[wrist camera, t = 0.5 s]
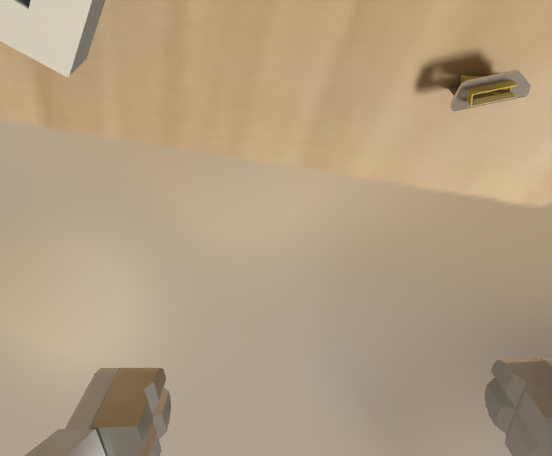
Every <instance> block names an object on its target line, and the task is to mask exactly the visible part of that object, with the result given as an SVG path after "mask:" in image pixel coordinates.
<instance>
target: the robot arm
mask: <svg viewBox="0 0 552 456" xmlns="http://www.w3.org/2000/svg"><path fill="white" fill-rule="evenodd" d="M491 371H492V373H493V375H494V376H495V378H494V379H493V380H492V381H491V382H489V383H488V384H487V387H486V391H485V401H486V407H487V410H488V413H489V416H490V417H491V419H492V421H493V423H494V425H495V426H497V427H498V428H499V429H501V430H502V431H504V432H505V433H506V440H505V444H506V446H507V447H508V449H509V451H510V453H511V454H512V456H552V358H540V359H537V358H534V359H533V358H532V359H504V360H497V361H496V362H495V363H494V365H493V368H492V370H491ZM165 380H166V377H165V373H164V369H161V368H101V369H100V370H98V371H97V372H96V373H95V374H94V377H93V378H92V380H91V382H90V384H89V385H88V387H87V389H86V391H85V393H84V395H83V396H82V398H81V400H80V402H79V404H78V406H77V407H76V409H75V411H74V413H73V415H72V417H71V418H70V420H69V422H68V424H67V426H66V428H65V429H59V430H57V431H56V432H54V433H53V434H52V435H51V436H49V437H48V438H47V439H46V440H44V441H43V442H42V443H40V444H39V445H38V446H37V447H35V448H34V449H33V450H31V451H30V452H29V453H28V454H26V455H25V456H160V453H161V447H160V443H159V439H160V438H161V437H162V436H163V435H164V433H166V432H167V428H168V424H169V420H170V410H171V401H170V394H169V391H168V390H167V389H165V388H164V383H165Z"/></svg>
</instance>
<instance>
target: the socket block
mask: <svg viewBox="0 0 552 456" xmlns="http://www.w3.org/2000/svg"><path fill="white" fill-rule="evenodd" d="M104 2H105V0H0V41H1V42H3V43H5V44H6V45H8V46H10V47H12V48H14V49H16V50H18V51H19V52H21V53H23V54H25V55H27V56H29V57H31V58H32V59H34V60H36V61H38V62H40V63H42V64H44V65H45V66H47V67H49V68H51V69H53V70H55V71H57V72H58V73H60V74H62V75H64V76H66V77H69V76H70V75H71V74H72V73H73V72H74V71H75V70H76V69H77V68H78V67H79V66H80V65H81V64H82V63H83V62H84V61H85V59H86V58H87V55H88V52H89V48H90V45H91V42H92V39H93V36H94V33H95V30H96V27H97V24H98V21H99V18H100V15H101V11H102V8H103V5H104Z"/></svg>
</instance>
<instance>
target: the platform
mask: <svg viewBox="0 0 552 456" xmlns="http://www.w3.org/2000/svg"><path fill="white" fill-rule="evenodd" d="M449 90H450V91H451V93H452V94H453V95H454V97H453V99H452V101H451V109H452V110H453V111H458V110H462V109H467V108H472V107H477V106H482V105H487V104H492V103H496V102H501V101H506V100H511V99H516V98H521V97H525V96H527V95H528V93H529V90H530V84H529V83H528V81H527V80H526V79H525V78H524V77H523V75H522V74H521V73H520V72H519V71H518V70H513V71H508V72H503V73H499V74H494V75H490V76H485V77H482V76H481V77H478V76H471V75H470V76H469V75H468V76H467V75H461V80H460V86H456V87H451V88H449Z"/></svg>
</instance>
